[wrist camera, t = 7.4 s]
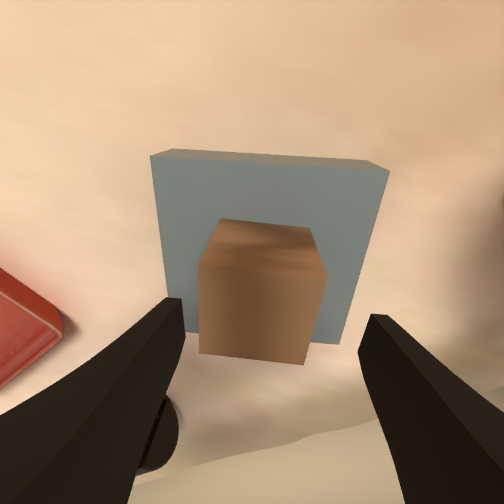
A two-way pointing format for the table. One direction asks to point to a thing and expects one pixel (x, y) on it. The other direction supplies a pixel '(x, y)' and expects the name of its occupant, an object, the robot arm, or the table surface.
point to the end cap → (160, 439)
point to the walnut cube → (259, 291)
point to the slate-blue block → (267, 216)
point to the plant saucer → (24, 327)
